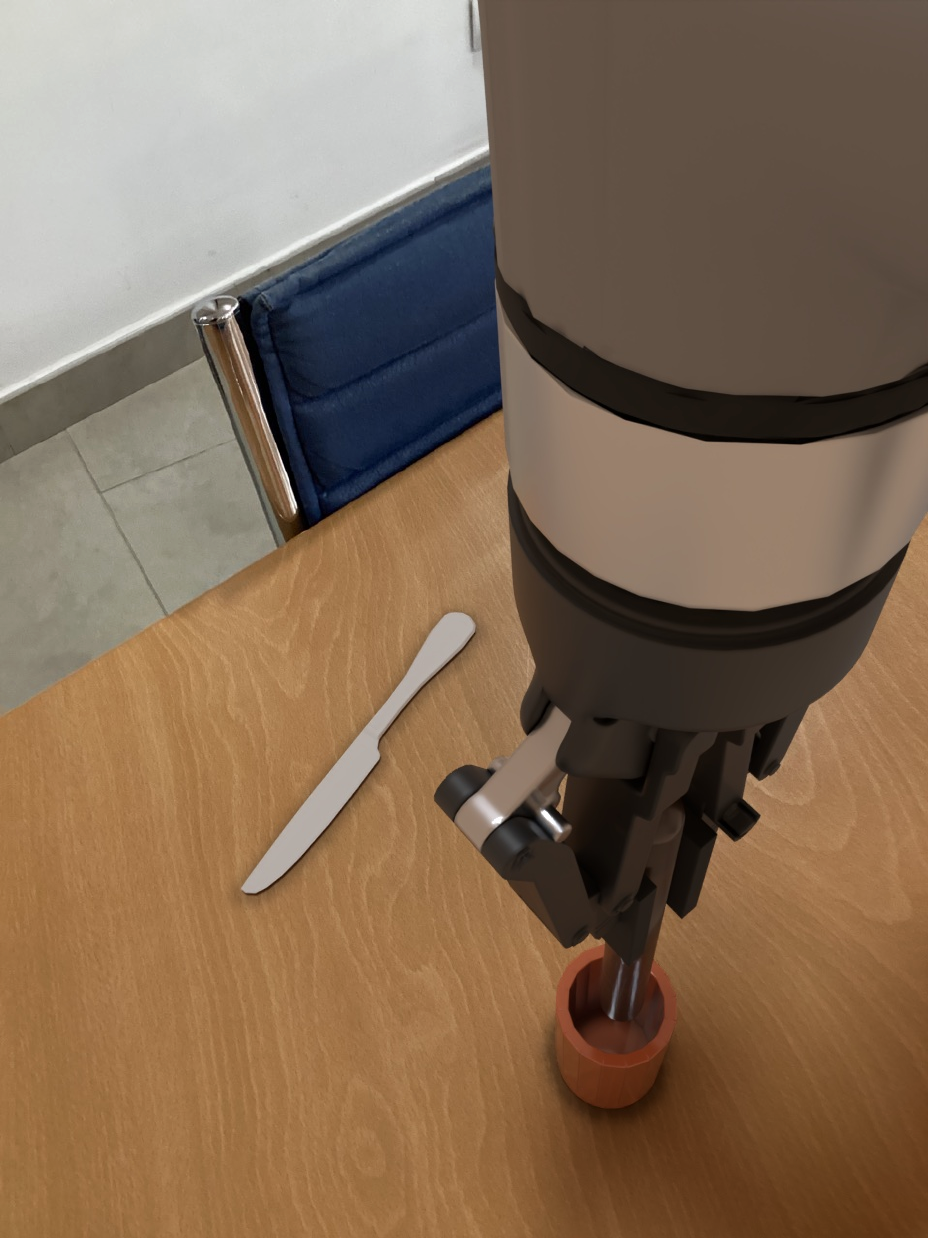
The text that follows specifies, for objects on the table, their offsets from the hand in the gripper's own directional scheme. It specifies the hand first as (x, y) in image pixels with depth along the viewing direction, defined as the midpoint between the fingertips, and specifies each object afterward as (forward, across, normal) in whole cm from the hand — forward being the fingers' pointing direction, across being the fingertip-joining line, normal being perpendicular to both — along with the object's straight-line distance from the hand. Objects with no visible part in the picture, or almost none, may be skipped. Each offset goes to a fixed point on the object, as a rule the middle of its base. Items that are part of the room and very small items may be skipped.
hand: (636, 907), depth 39 cm
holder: (+23, 0, 0) cm, 23 cm away
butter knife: (+23, -1, -24) cm, 34 cm away
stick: (+13, 0, 0) cm, 13 cm away
